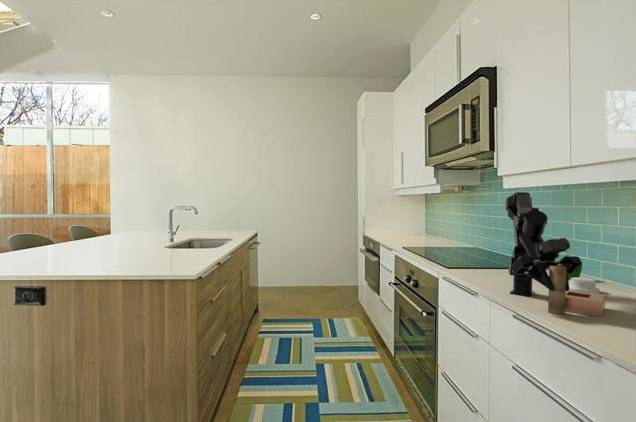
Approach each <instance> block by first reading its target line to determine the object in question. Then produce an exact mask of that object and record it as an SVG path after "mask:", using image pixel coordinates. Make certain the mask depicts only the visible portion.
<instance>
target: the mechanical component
mask: <svg viewBox="0 0 636 422" xmlns="http://www.w3.org/2000/svg"><path fill="white" fill-rule="evenodd" d="M596 282H597V281H596V280H595V279H593V278H592V279H591V278H588V277H587V278H586V277H579V278H578V277H575V278H574V277H573V278H571V279H569V290H574V291H581V292H589V293H597V294H601V293H600V291H601V289H600V288H598V287H597V285H596Z"/></svg>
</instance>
